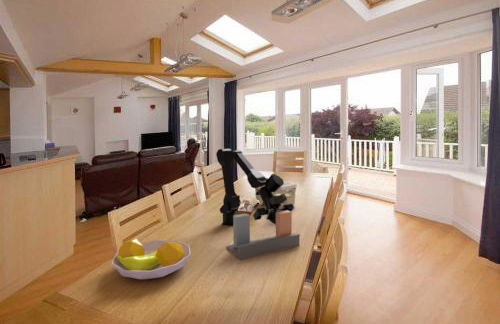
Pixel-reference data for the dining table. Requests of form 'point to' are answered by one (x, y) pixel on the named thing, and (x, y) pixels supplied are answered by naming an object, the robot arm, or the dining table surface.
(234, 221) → the slate key
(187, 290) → the dining table surface
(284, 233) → the terracotta key
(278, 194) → the supplement box
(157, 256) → the fruit bowl
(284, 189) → the storage basket
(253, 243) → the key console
